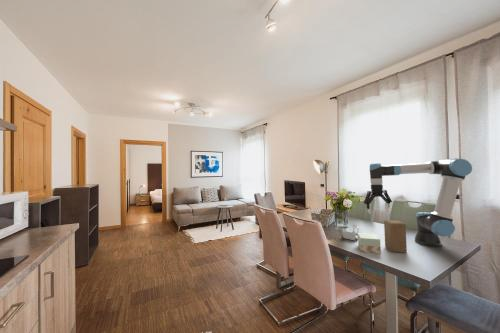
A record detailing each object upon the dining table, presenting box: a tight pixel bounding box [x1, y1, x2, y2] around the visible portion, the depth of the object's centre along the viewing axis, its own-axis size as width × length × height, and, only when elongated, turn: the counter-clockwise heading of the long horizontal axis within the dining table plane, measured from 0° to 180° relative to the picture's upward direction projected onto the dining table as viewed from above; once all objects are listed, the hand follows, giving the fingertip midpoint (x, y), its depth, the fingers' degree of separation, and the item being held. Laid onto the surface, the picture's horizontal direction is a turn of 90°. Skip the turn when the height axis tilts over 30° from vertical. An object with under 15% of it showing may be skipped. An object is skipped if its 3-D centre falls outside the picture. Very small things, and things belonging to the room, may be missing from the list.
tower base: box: [357, 240, 382, 254], centre depth 146 cm, size 12×12×5 cm
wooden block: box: [383, 219, 408, 254], centre depth 144 cm, size 10×10×20 cm
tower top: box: [357, 232, 381, 247], centre depth 146 cm, size 12×12×5 cm
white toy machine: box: [341, 224, 360, 243], centre depth 172 cm, size 18×10×12 cm
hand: (378, 212), depth 151 cm, fingers open, 13 cm apart
